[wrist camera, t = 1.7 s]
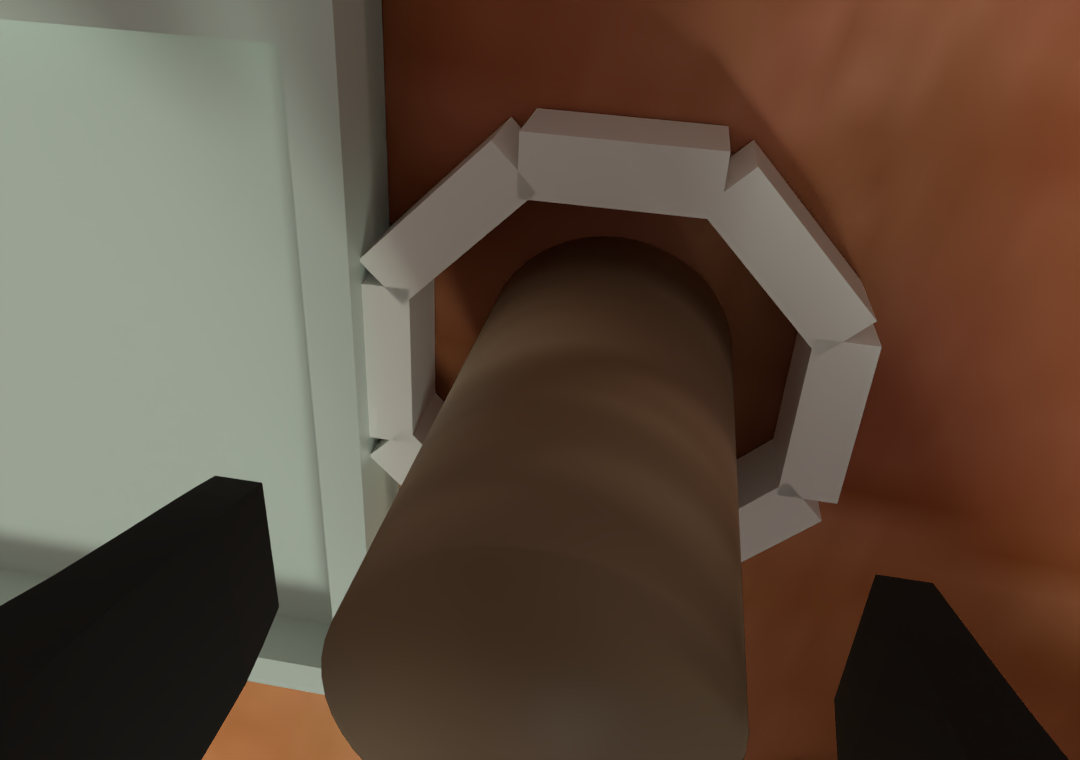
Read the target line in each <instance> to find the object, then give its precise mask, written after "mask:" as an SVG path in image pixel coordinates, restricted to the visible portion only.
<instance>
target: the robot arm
mask: <svg viewBox="0 0 1080 760" xmlns="http://www.w3.org/2000/svg"><path fill="white" fill-rule="evenodd" d="M278 609H279V602H278V594H277V587H276V579H275V572H274V565H273V557H272V550H271V543H270V535H269V528H268V521H267V513H266V506H265V499H264V491H263V484H262V483H261V482H254V481H248V480H241V479H234V478H228V477H221V476H214V477H212V478H210V479H208V480H207V481H205V482H203V483H201V484H200V485H198V486H196V487H195V488H193V489H191V490H190V491H188V492H186V493H185V494H183V495H181V496H180V497H178V498H177V499H175V500H173V501H172V502H170V503H169V504H167V505H165V506H164V507H162V508H161V509H159V510H157V511H156V512H154V513H153V514H151V515H150V516H148V517H146V518H145V519H143V520H142V521H140V522H138V523H137V524H135V525H134V526H132V527H131V528H129V529H127V530H126V531H124V532H123V533H121V534H119V535H118V536H116V537H115V538H113V539H111V540H110V541H108V542H107V543H105V544H103V545H102V546H100V547H98V548H97V549H95V550H94V551H92V552H90V553H89V554H87V555H86V556H84V557H82V558H81V559H79V560H77V561H76V562H74V563H73V564H71V565H69V566H68V567H66V568H64V569H63V570H61V571H60V572H58V573H56V574H55V575H53V576H51V577H50V578H48V579H46V580H45V581H43V582H41V583H39V584H37V585H36V586H34V587H32V588H30V589H29V590H27V591H25V592H23V593H22V594H20V595H18V596H16V597H15V598H13V599H11V600H9V601H8V602H6V603H4V604H2V605H1V606H0V760H201V759H202V758H203V756H204V754H205V753H206V751H207V749H208V748H209V746H210V744H211V743H212V741H213V739H214V738H215V736H216V734H217V732H218V731H219V729H220V727H221V726H222V724H223V722H224V721H225V719H226V717H227V715H228V714H229V712H230V710H231V709H232V707H233V705H234V703H235V702H236V700H237V698H238V696H239V695H240V693H241V691H242V689H243V688H244V686H245V684H246V682H247V680H248V678H249V676H250V674H251V671H252V669H253V667H254V665H255V663H256V660H257V658H258V656H259V654H260V651H261V649H262V647H263V645H264V642H265V640H266V637H267V635H268V633H269V630H270V628H271V625H272V623H273V621H274V618H275V616H276V613H277V611H278ZM834 702H835V720H836V738H837V754H838V760H1068V758H1067V757H1066V756H1065V755H1064V753H1063V752H1062V751H1061V750H1060V748H1059V747H1058V746H1057V745H1056V743H1055V742H1054V741H1053V740H1052V738H1051V737H1050V736H1049V735H1048V733H1047V732H1046V731H1045V730H1044V729H1043V727H1042V726H1041V725H1040V724H1039V722H1038V721H1037V720H1036V719H1035V717H1034V716H1033V715H1032V714H1031V712H1030V711H1029V710H1028V708H1027V707H1026V706H1025V705H1024V703H1023V702H1022V701H1021V699H1020V698H1019V697H1018V696H1017V694H1016V693H1015V692H1014V690H1013V689H1012V688H1011V686H1010V685H1009V684H1008V682H1007V681H1006V680H1005V678H1004V677H1003V676H1002V675H1001V673H1000V672H999V671H998V669H997V668H996V667H995V665H994V664H993V663H992V661H991V660H990V659H989V657H988V656H987V655H986V653H985V652H984V651H983V649H982V648H981V647H980V645H979V644H978V643H977V641H976V640H975V639H974V637H973V636H972V635H971V633H970V632H969V631H968V629H967V628H966V627H965V625H964V624H963V623H962V621H961V620H960V619H959V617H958V616H957V615H956V613H955V612H954V611H953V609H952V608H951V607H950V605H949V604H948V603H947V601H946V600H945V599H944V597H943V596H942V595H941V593H940V592H939V591H938V589H937V588H936V587H935V585H934V584H933V583H929V582H922V581H915V580H909V579H902V578H895V577H889V576H882V575H875V578H874V581H873V584H872V587H871V590H870V593H869V596H868V599H867V602H866V605H865V608H864V611H863V614H862V617H861V621H860V624H859V627H858V630H857V633H856V636H855V639H854V642H853V645H852V648H851V651H850V654H849V657H848V660H847V663H846V666H845V669H844V672H843V675H842V678H841V681H840V684H839V687H838V690H837V693H836V696H835V699H834Z"/></svg>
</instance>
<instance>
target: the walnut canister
mask: <svg viewBox="0 0 1080 760" xmlns="http://www.w3.org/2000/svg"><path fill="white" fill-rule="evenodd" d="M321 678H322V683H323V688H324V693H325V697H326V700H327V703H328V706H329V708H330V711H331V714H332V716H333V718H334V720H335V722H336V723H337V725H338V727H339V729H340V731H341V733H342V734H343V736H344V737H345V738H346V740H347V741H348V743H349V744H350V745H351V747H352V748H353V750H354V751H355V752H356V753H357V754H358V755H359V756H360V758H361V759H362V760H743V759H744V756H745V753H746V748H747V741H748V735H749V728H748V704H747V682H746V660H745V638H744V615H743V593H742V571H741V548H740V526H739V504H738V482H737V459H736V437H735V415H734V393H733V370H732V348H731V336H730V331H729V326H728V322H727V319H726V317H725V314H724V311H723V309H722V307H721V305H720V303H719V301H718V299H717V297H716V296H715V294H714V293H713V291H712V290H711V289H710V287H709V286H708V285H707V283H706V282H705V281H704V280H703V279H702V278H701V277H700V276H699V275H698V274H697V273H696V272H695V271H694V270H693V269H692V268H690V267H689V266H688V265H687V264H685V263H684V262H683V261H681V260H680V259H678V258H677V257H675V256H673V255H672V254H670V253H668V252H666V251H664V250H662V249H660V248H657V247H655V246H653V245H650V244H647V243H643V242H640V241H637V240H632V239H626V238H620V237H589V238H582V239H577V240H572V241H568V242H565V243H562V244H559V245H557V246H554V247H552V248H550V249H548V250H546V251H544V252H542V253H540V254H538V255H537V256H535V257H534V258H532V259H531V260H529V261H528V262H526V263H525V264H524V265H523V266H522V267H521V268H520V269H519V270H518V271H517V272H516V273H515V274H514V275H513V276H512V277H511V279H510V280H509V281H508V282H507V283H506V285H505V287H504V288H503V290H502V292H501V293H500V295H499V297H498V298H497V300H496V302H495V304H494V306H493V308H492V310H491V312H490V314H489V316H488V318H487V320H486V322H485V324H484V326H483V328H482V330H481V332H480V334H479V335H478V337H477V339H476V341H475V343H474V345H473V347H472V349H471V351H470V353H469V355H468V357H467V359H466V361H465V363H464V365H463V367H462V369H461V371H460V372H459V374H458V376H457V378H456V380H455V382H454V384H453V386H452V388H451V390H450V392H449V394H448V396H447V398H446V400H445V402H444V404H443V406H442V408H441V409H440V411H439V413H438V415H437V417H436V419H435V421H434V423H433V425H432V427H431V429H430V431H429V433H428V435H427V437H426V439H425V441H424V443H423V444H422V446H421V448H420V450H419V452H418V454H417V456H416V458H415V460H414V462H413V464H412V466H411V468H410V470H409V472H408V474H407V476H406V478H405V480H404V481H403V483H402V485H401V487H400V489H399V491H398V493H397V495H396V497H395V499H394V501H393V503H392V505H391V507H390V509H389V511H388V513H387V515H386V517H385V518H384V520H383V522H382V524H381V526H380V528H379V530H378V532H377V534H376V536H375V538H374V540H373V542H372V544H371V546H370V548H369V550H368V552H367V554H366V555H365V557H364V559H363V561H362V563H361V565H360V567H359V569H358V571H357V573H356V575H355V577H354V579H353V581H352V583H351V585H350V587H349V589H348V591H347V592H346V594H345V596H344V598H343V600H342V602H341V604H340V606H339V608H338V610H337V612H336V614H335V616H334V618H333V620H332V622H331V624H330V627H329V629H328V632H327V635H326V637H325V640H324V645H323V651H322V657H321Z"/></svg>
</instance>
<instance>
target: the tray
mask: <svg viewBox="0 0 1080 760" xmlns="http://www.w3.org/2000/svg"><path fill="white" fill-rule="evenodd" d="M389 227H390V223H389V195H388V167H387V139H386V111H385V83H384V55H383V26H382V0H0V606H1V605H2V604H4V603H6V602H8V601H9V600H11V599H13V598H15V597H16V596H18V595H20V594H22V593H23V592H25V591H27V590H29V589H30V588H32V587H34V586H36V585H37V584H39V583H41V582H43V581H45V580H46V579H48V578H50V577H51V576H53V575H55V574H56V573H58V572H60V571H61V570H63V569H64V568H66V567H68V566H69V565H71V564H73V563H74V562H76V561H77V560H79V559H81V558H82V557H84V556H86V555H87V554H89V553H90V552H92V551H94V550H95V549H97V548H98V547H100V546H102V545H103V544H105V543H107V542H108V541H110V540H111V539H113V538H115V537H116V536H118V535H119V534H121V533H123V532H124V531H126V530H127V529H129V528H131V527H132V526H134V525H135V524H137V523H138V522H140V521H142V520H143V519H145V518H146V517H148V516H150V515H151V514H153V513H154V512H156V511H157V510H159V509H161V508H162V507H164V506H165V505H167V504H169V503H170V502H172V501H173V500H175V499H177V498H178V497H180V496H181V495H183V494H185V493H186V492H188V491H190V490H191V489H193V488H195V487H196V486H198V485H200V484H201V483H203V482H205V481H207V480H208V479H210V478H212V477H214V476H221V477H228V478H234V479H241V480H248V481H254V482H261V483H262V484H263V491H264V499H265V506H266V513H267V521H268V528H269V535H270V543H271V550H272V557H273V565H274V572H275V579H276V587H277V594H278V602H279V609H278V611H277V613H276V616H275V618H274V621H273V623H272V625H271V628H270V630H269V633H268V635H267V637H266V640H265V642H264V645H263V647H262V649H261V651H260V654H259V656H258V658H257V660H256V663H255V665H254V667H253V669H252V671H251V674H250V676H249V678H248V680H247V681H251V682H257V683H263V684H268V685H274V686H279V687H285V688H290V689H296V690H301V691H307V692H312V693H318V694H323V695H325V693H324V688H323V683H322V678H321V657H322V651H323V645H324V640H325V637H326V635H327V632H328V629H329V627H330V624H331V622H332V620H333V618H334V616H335V614H336V612H337V610H338V608H339V606H340V604H341V602H342V600H343V598H344V596H345V594H346V592H347V591H348V589H349V587H350V585H351V583H352V581H353V579H354V577H355V575H356V573H357V571H358V569H359V567H360V565H361V563H362V561H363V559H364V557H365V555H366V554H367V552H368V550H369V548H370V546H371V544H372V542H373V540H374V538H375V536H376V534H377V532H378V530H379V528H380V526H381V524H382V522H383V520H384V518H385V517H386V515H387V513H388V511H389V509H390V507H391V505H392V503H393V501H394V499H395V497H396V495H397V493H398V491H399V483H398V482H397V481H395V480H394V479H393V478H392V477H391V476H390V475H389V474H388V473H387V472H386V471H385V470H384V469H383V468H382V467H381V466H380V465H379V464H378V463H377V462H376V461H374V460H373V459H372V458H371V453H372V451H373V450H374V448H375V446H376V445H377V443H378V441H379V440H380V438H373V437H370V432H369V413H368V395H367V377H366V358H365V340H364V322H363V303H362V285H361V284H362V283H363V281H364V280H365V279H366V278H367V277H368V276H369V275H370V272H369V271H368V270H367V269H366V268H365V266H364V265H363V264H362V263H361V262H360V258H361V257H362V256H363V255H364V254H365V253H366V252H367V251H368V250H369V248H370V247H371V246H372V245H373V244H374V243H375V242H376V241H377V240H378V239H379V238H380V237H381V236H382V235H383V233H384V232H385V231H386V230H387V229H388V228H389Z"/></svg>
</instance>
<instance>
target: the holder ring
mask: <svg viewBox="0 0 1080 760" xmlns="http://www.w3.org/2000/svg"><path fill="white" fill-rule="evenodd" d="M730 152H731V150H730V137H729V126H722V125H712V124H701V123H690V122H680V121H669V120H658V119H648V118H637V117H626V116H616V115H605V114H595V113H584V112H573V111H563V110H552V109H541V108H537V109H536V110H535V111H534V113H533V114H532V115H531V117H530V118H529V119H528V121H527V122H526V123H525V124H524V126H523V127H522V128H521V127H520V126H519V125H518V124H517V123H516V121H515V120H514V119H513V118H512V117H510V118H509V119H508V120H507V121H506V122H505V123H504V124H503V125H502V126H500V127H499V128H498V129H497V130H496V131H495V132H494V133H493V134H492V135H490V136H489V137H488V138H487V139H486V140H485V141H484V142H483V143H482V144H481V145H479V146H478V147H477V148H476V149H475V150H474V151H473V152H472V153H471V154H470V155H468V156H467V157H466V158H465V159H464V160H463V161H462V162H461V163H460V164H458V165H457V166H456V167H455V168H454V169H453V170H452V171H451V172H450V173H449V174H447V175H446V176H445V177H444V178H443V179H442V180H441V181H440V182H439V183H438V184H436V185H435V186H434V187H433V188H432V189H431V190H430V191H429V192H428V193H426V194H425V195H424V196H423V197H422V198H421V199H420V200H419V201H418V202H417V203H415V204H414V205H413V206H412V207H411V208H410V209H409V210H408V211H407V212H406V213H404V214H403V215H402V216H401V217H400V218H399V219H398V220H397V221H396V222H394V223H393V224H392V225H391V226H390V227H389V228H388V229H387V230H386V231H385V232H384V233H383V235H382V236H381V237H380V238H379V239H378V240H377V241H376V242H375V243H374V244H373V245H372V246H371V247H370V248H369V250H368V251H367V252H366V253H365V254H364V255H363V256H362V257H361V258H360V262H361V263H362V264H363V265H364V266H365V268H366V269H367V270H368V271H369V272H370V275H369V276H368V277H367V278H366V279H365V280H364V281H363V283H362V284H361V285H362V303H363V322H364V340H365V358H366V377H367V395H368V413H369V432H370V437H373V438H380V440H379V441H378V443H377V445H376V446H375V448H374V450H373V451H372V453H371V458H372V459H373V460H374V461H376V462H377V463H378V464H379V465H380V466H381V467H382V468H383V469H384V470H385V471H386V472H387V473H388V474H389V475H390V476H391V477H392V478H393V479H394V480H395V481H397V482H398V483H399V484H400V485H402V483H403V481H404V480H405V478H406V476H407V474H408V472H409V470H410V468H411V466H412V464H413V462H414V460H415V458H416V456H417V454H418V452H419V450H420V448H421V446H422V444H423V443H424V441H425V439H426V437H427V435H428V433H429V431H430V429H431V427H432V425H433V423H434V421H435V419H436V417H437V415H438V413H439V411H440V409H441V408H442V406H443V404H444V401H443V400H442V399H441V398H440V397H439V396H438V395H437V394H436V393H435V284H434V278H435V277H437V276H438V275H439V274H440V273H441V272H443V271H444V270H445V269H446V268H447V267H449V266H450V265H451V264H452V263H453V262H455V261H456V260H457V259H458V258H459V257H460V256H462V255H463V254H464V253H465V252H466V251H468V250H469V249H470V248H471V247H472V246H474V245H475V244H476V243H477V242H478V241H480V240H481V239H482V238H483V237H484V236H486V235H487V234H488V233H489V232H490V231H492V230H493V229H494V228H495V227H496V226H497V225H499V224H500V223H501V222H502V221H503V220H505V219H506V218H507V217H508V216H509V215H511V214H512V213H513V212H514V211H515V210H517V209H518V208H519V207H520V206H521V205H523V204H524V203H525V202H526V201H527V200H534V201H543V202H553V203H562V204H572V205H581V206H590V207H600V208H609V209H618V210H628V211H637V212H647V213H656V214H665V215H675V216H684V217H693V218H703V219H708V221H709V222H710V223H711V224H712V226H713V227H714V228H715V229H716V230H717V232H718V233H719V234H720V235H721V237H722V238H723V239H724V240H725V242H726V243H727V244H728V245H729V247H730V248H731V249H732V250H733V252H734V253H735V254H736V255H737V257H738V258H739V259H740V260H741V261H742V263H743V264H744V265H745V266H746V268H747V269H748V270H749V271H750V273H751V274H752V275H753V276H754V278H755V279H756V280H757V281H758V283H759V284H760V285H761V286H762V288H763V289H764V290H765V291H766V292H767V294H768V295H769V296H770V297H771V299H772V300H773V301H774V302H775V304H776V305H777V306H778V307H779V309H780V310H781V311H782V312H783V314H784V315H785V316H786V317H787V319H788V320H789V321H790V322H791V323H792V325H793V326H794V327H795V328H796V330H797V331H798V332H797V336H796V341H795V345H794V350H793V354H792V359H791V363H790V367H789V372H788V376H787V381H786V385H785V389H784V394H783V398H782V403H781V407H780V412H779V416H778V420H777V425H776V429H775V434H774V438H773V439H772V440H770V441H768V442H766V443H765V444H763V445H761V446H759V447H758V448H756V449H754V450H752V451H751V452H749V453H747V454H746V455H744V456H742V457H740V458H739V459H737V482H738V504H739V526H740V548H741V562H743V561H745V560H747V559H749V558H751V557H753V556H755V555H757V554H759V553H761V552H763V551H765V550H766V549H768V548H770V547H772V546H774V545H776V544H778V543H780V542H782V541H784V540H786V539H788V538H790V537H792V536H794V535H796V534H798V533H800V532H802V531H804V530H806V529H808V528H810V527H811V526H813V525H815V524H817V523H819V522H821V521H822V520H821V514H820V508H819V503H818V501H821V502H828V503H835V504H837V503H838V500H839V496H840V492H841V489H842V485H843V482H844V478H845V475H846V471H847V468H848V464H849V461H850V457H851V454H852V450H853V447H854V443H855V440H856V436H857V433H858V429H859V426H860V422H861V418H862V415H863V411H864V408H865V404H866V401H867V397H868V394H869V390H870V387H871V383H872V380H873V376H874V373H875V369H876V366H877V362H878V359H879V355H880V352H881V348H882V346H881V343H880V341H879V338H878V335H877V332H876V330H875V327H874V324H873V323H875V322H877V320H876V317H875V315H874V312H873V310H872V307H871V304H870V302H869V299H868V296H867V294H866V291H865V289H864V286H863V283H862V281H861V280H860V279H859V277H858V276H857V275H856V273H855V272H854V271H853V269H852V268H851V267H850V266H849V264H848V263H847V262H846V260H845V259H844V258H843V256H842V255H841V254H840V252H839V251H838V250H837V248H836V247H835V246H834V245H833V243H832V242H831V241H830V239H829V238H828V237H827V235H826V234H825V233H824V231H823V230H822V229H821V227H820V226H819V225H818V224H817V222H816V221H815V220H814V218H813V217H812V216H811V214H810V213H809V212H808V210H807V209H806V208H805V207H804V205H803V204H802V203H801V201H800V200H799V199H798V197H797V196H796V195H795V193H794V192H793V191H792V189H791V188H790V187H789V186H788V184H787V183H786V182H785V180H784V179H783V178H782V176H781V175H780V174H779V172H778V171H777V170H776V168H775V167H774V166H773V165H772V163H771V162H770V161H769V159H768V158H767V157H766V155H765V154H764V153H763V151H762V150H761V149H760V147H759V146H758V145H757V144H756V142H755V141H754V140H753V141H751V142H750V143H749V144H747V145H746V146H745V147H743V148H742V149H741V150H739V151H738V152H737V153H735V154H734V155H733V156H731V157H730Z"/></svg>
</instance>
